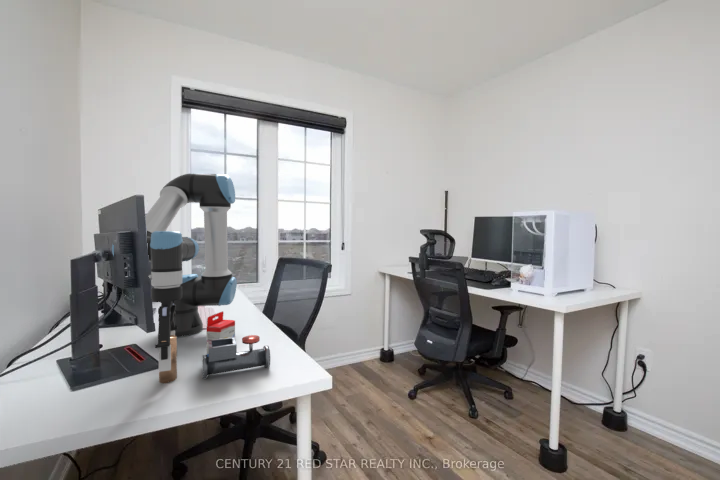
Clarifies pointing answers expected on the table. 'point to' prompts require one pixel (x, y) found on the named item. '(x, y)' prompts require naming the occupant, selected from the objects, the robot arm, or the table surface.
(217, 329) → the ink box
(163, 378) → the pipe stub
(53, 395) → the table surface
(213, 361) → the valve body
